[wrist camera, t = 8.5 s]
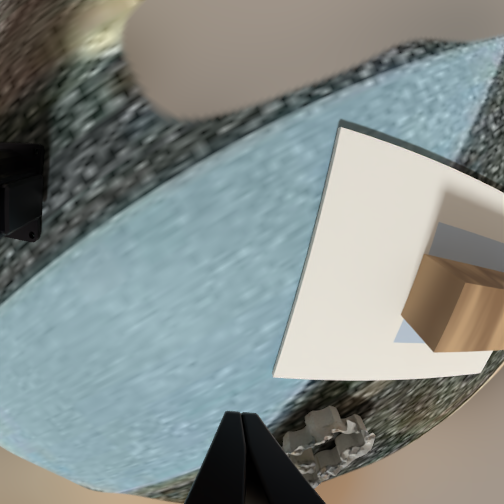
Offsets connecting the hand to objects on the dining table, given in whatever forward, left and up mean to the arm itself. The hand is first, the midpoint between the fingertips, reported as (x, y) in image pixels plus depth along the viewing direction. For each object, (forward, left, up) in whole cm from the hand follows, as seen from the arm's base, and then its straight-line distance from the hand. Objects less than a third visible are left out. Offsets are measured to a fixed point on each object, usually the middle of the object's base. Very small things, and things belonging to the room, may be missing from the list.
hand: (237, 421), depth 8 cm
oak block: (+13, 0, -10) cm, 17 cm away
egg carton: (+11, -18, -14) cm, 25 cm away
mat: (+17, 0, -13) cm, 21 cm away
